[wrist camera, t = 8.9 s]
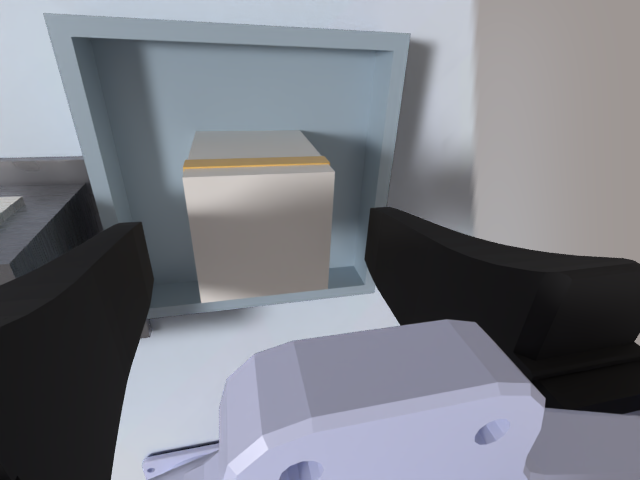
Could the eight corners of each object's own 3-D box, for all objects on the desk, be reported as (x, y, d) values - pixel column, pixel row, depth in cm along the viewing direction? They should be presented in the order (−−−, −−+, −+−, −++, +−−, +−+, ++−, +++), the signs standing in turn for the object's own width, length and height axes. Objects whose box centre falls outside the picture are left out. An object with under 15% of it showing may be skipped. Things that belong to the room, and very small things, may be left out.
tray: (359, 267, 22) (374, 292, 19) (139, 289, 19) (128, 321, 17) (385, 34, 16) (410, 33, 14) (72, 17, 13) (43, 13, 11)
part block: (299, 220, 18) (329, 290, 13) (206, 226, 17) (199, 304, 12) (300, 129, 16) (336, 170, 11) (194, 130, 15) (180, 175, 10)
